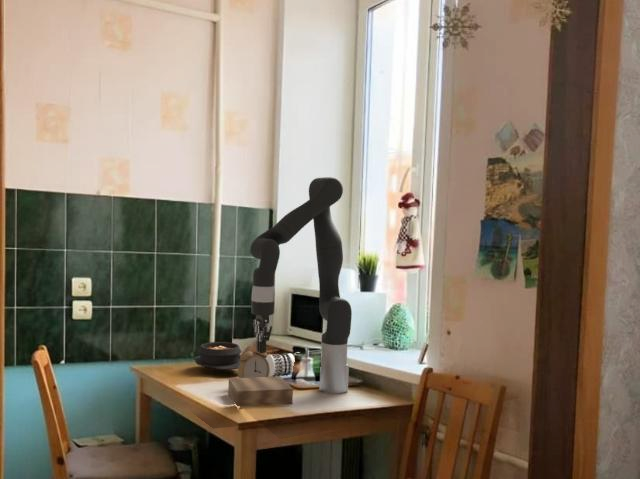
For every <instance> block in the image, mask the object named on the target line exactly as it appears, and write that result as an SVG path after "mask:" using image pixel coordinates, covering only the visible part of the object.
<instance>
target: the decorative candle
mask: <svg viewBox="0 0 640 479" xmlns="http://www.w3.org/2000/svg"><path fill="white" fill-rule="evenodd" d="M296 353H300V352H299V351H297V352H296ZM296 353H290V352H289V353H286V352H284V353H275V354H274V353H272V354H267V358H266V357H265V359H266V360H267V361H268V363H269V368H270V371H269V376H268V377H278V376H281V377H285V376H286V377H288V376H289V375H293V374H292V372H293V366H294V362H295V355H296Z"/></svg>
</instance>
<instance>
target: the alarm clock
mask: <svg viewBox="0 0 640 479" xmlns="http://www.w3.org/2000/svg"><path fill="white" fill-rule="evenodd" d="M251 346H257V343H251V344H249V345H248V346H247V347H246V348H245V349H244V350H243V351H242V352H241V353H240V355H239V359H241V362H240V364H239V366H238V369H237V375H238V376H237V377H238V378H252V377H269V371H270V368H269V363H268V361H267V360H266V358H267V355H268V353H267V352H266V353H259V352H258V351H257V349H256V350H254V352H252V351H250V350H249V348H251Z"/></svg>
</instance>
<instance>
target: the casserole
mask: <svg viewBox="0 0 640 479" xmlns="http://www.w3.org/2000/svg"><path fill="white" fill-rule="evenodd" d="M197 352H198V354H199V355H198V356H194V357H193V360H194V361H195V364H196V365H198V366H201V367H204V368H205V369H209V370H217V371H219V370H223V371H228V370H238V366H239V364H240V362H241V359H240V355H241V354H242V349H241V348H240V345H239V344H237V343H234V342H233V343H232V342H226V341H214V342H213V341H210V342H205V343H202V344H201V345H200V347H199V349H198V350H197Z"/></svg>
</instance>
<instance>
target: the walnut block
mask: <svg viewBox="0 0 640 479" xmlns="http://www.w3.org/2000/svg"><path fill="white" fill-rule="evenodd" d="M227 389H228V390H227V391H228V394H227V395H228V396H229V398H230V399H231V400H232V401H233V402H235V403H234V404H236V405H237V406H240V407H242V406H243V407H244V406H247V405H249V406H271V405H272V404H277V405H293V401H294V400H293V397H294V388H293V387H292V385H290V383H288V382H287V381H286V380H285V379H284V378H283V376H278V377H277V376H276V377H269V376H268V377H252V378H239V377H232V378H231V377H230V378H229V377H228V388H227ZM272 406H273V405H272ZM247 407H248V406H247Z"/></svg>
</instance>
